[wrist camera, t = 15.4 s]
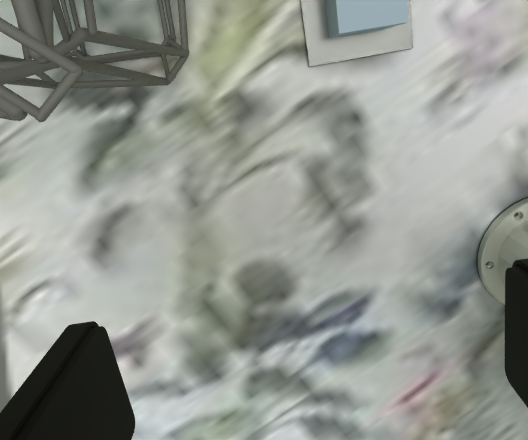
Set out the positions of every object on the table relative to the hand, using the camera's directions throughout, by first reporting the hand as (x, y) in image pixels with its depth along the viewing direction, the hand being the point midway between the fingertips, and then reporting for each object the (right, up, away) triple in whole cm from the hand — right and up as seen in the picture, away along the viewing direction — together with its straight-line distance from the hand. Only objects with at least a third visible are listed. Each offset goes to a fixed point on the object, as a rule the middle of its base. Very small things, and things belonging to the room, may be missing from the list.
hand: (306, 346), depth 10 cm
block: (+7, +21, +27) cm, 35 cm away
